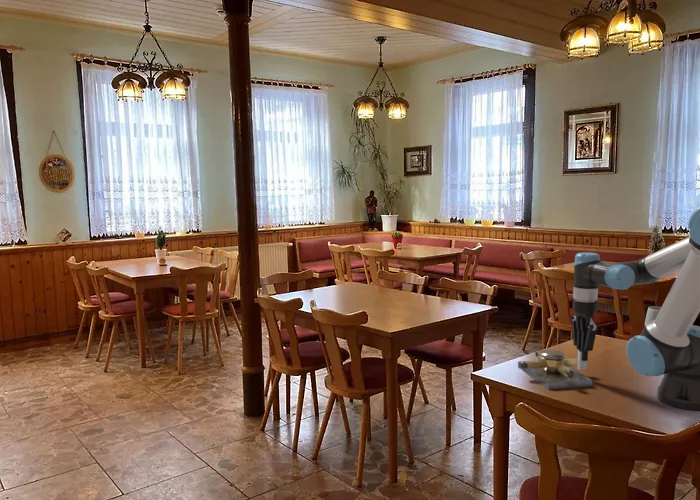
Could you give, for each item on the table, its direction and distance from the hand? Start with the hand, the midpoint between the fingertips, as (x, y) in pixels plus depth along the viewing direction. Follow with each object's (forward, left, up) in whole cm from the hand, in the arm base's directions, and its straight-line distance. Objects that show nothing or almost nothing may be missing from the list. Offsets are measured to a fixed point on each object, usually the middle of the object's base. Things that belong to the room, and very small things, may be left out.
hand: (581, 369), depth 191 cm
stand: (+4, +8, -3) cm, 10 cm away
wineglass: (+7, -32, -4) cm, 33 cm away
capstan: (+4, +8, -1) cm, 9 cm away
